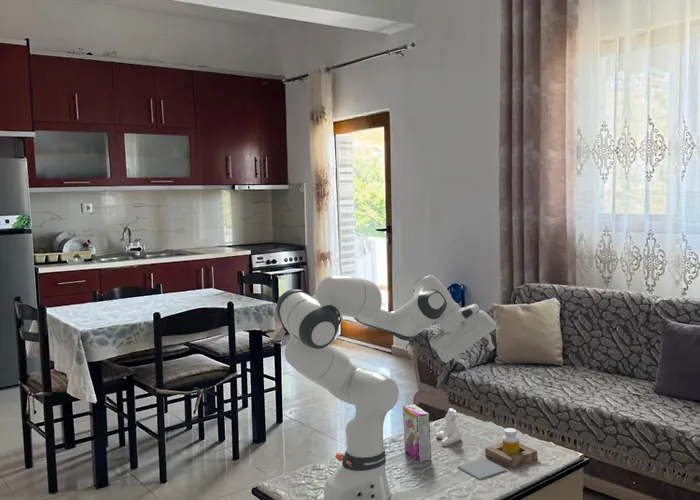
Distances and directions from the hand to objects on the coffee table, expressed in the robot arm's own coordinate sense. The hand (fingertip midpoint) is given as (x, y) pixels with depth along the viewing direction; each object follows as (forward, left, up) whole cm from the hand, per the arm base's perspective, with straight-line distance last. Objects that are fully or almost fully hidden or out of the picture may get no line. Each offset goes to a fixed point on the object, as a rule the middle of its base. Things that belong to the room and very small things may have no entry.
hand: (480, 357), depth 203 cm
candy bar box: (-6, +27, -39) cm, 48 cm away
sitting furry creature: (+11, +31, -39) cm, 51 cm away
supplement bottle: (+18, +7, -39) cm, 43 cm away
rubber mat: (+4, +6, -39) cm, 40 cm away
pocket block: (+18, +7, -39) cm, 43 cm away
